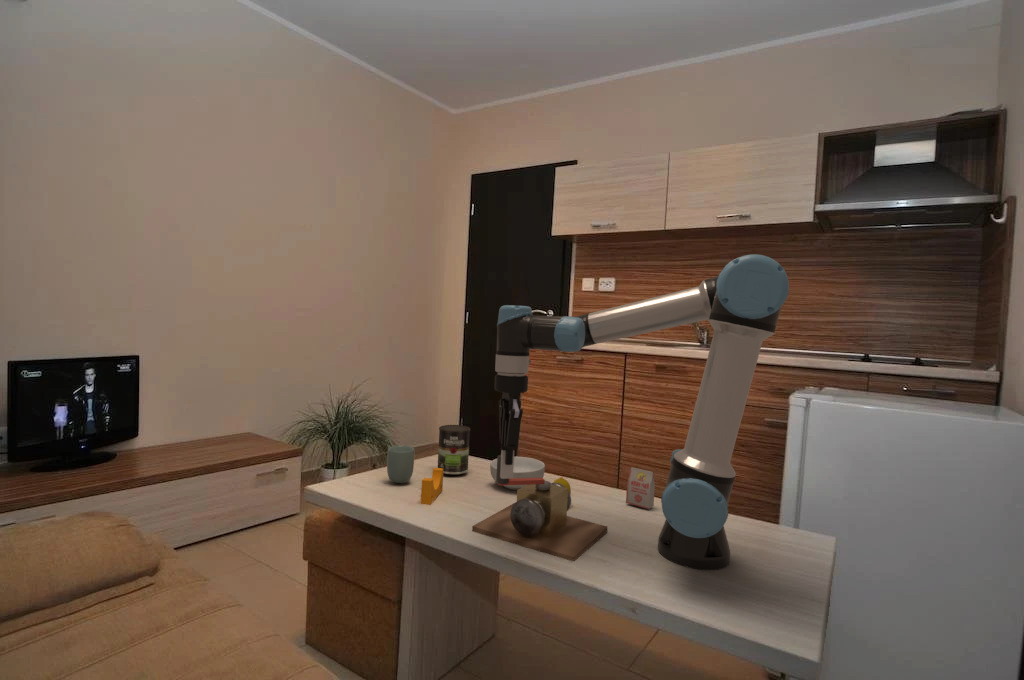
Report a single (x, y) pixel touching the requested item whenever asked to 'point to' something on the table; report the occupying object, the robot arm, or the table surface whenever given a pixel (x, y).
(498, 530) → the mount board
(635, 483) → the white red food package
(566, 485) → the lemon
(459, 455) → the coffee can
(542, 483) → the lever
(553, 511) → the valve
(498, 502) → the table surface
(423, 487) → the orange arch block
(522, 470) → the cereal bowl
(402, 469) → the cup
